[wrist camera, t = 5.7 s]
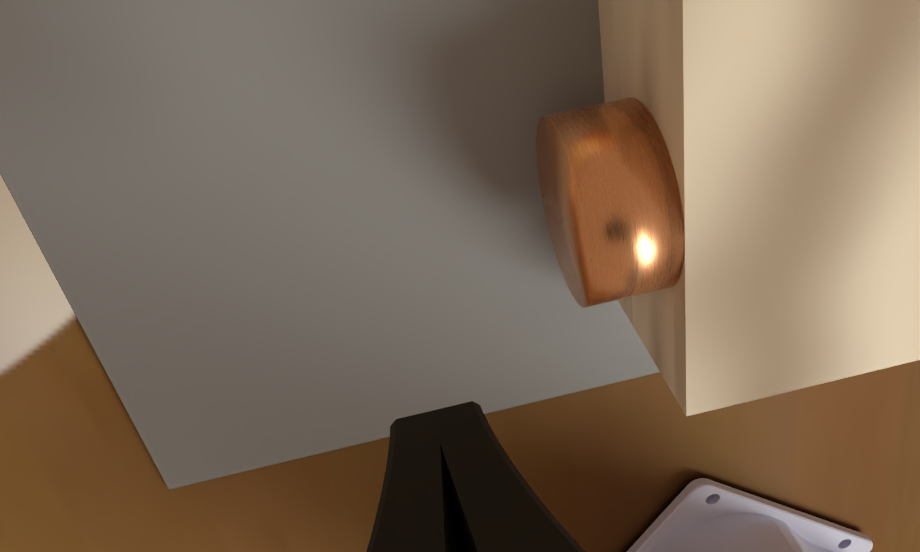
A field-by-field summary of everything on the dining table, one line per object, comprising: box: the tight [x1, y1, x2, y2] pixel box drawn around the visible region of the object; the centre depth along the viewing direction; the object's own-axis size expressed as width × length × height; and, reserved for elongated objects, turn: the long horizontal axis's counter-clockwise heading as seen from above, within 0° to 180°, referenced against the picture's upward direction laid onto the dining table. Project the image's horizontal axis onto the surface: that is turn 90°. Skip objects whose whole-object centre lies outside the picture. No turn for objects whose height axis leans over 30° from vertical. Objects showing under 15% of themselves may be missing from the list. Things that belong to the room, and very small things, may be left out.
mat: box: [0, 0, 660, 489], centre depth 21 cm, size 24×16×1 cm, turn 99°
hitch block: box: [598, 0, 920, 416], centre depth 19 cm, size 6×10×5 cm, turn 9°
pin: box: [536, 97, 685, 308], centre depth 19 cm, size 10×4×4 cm, turn 99°
